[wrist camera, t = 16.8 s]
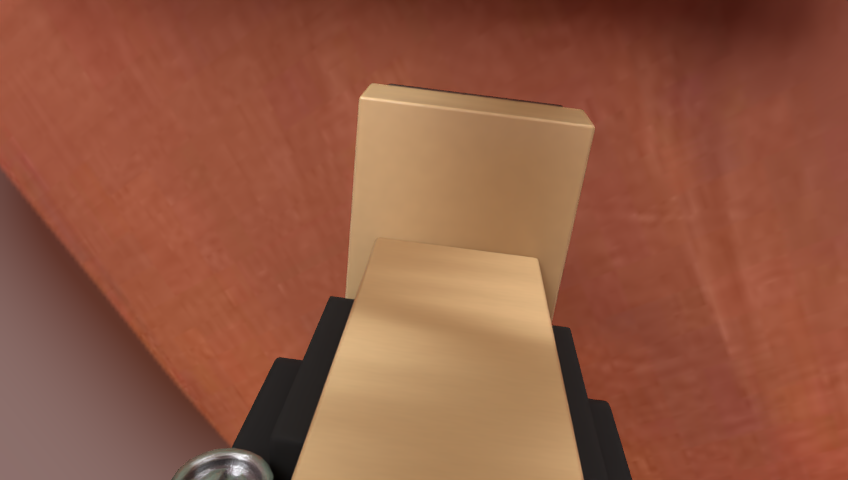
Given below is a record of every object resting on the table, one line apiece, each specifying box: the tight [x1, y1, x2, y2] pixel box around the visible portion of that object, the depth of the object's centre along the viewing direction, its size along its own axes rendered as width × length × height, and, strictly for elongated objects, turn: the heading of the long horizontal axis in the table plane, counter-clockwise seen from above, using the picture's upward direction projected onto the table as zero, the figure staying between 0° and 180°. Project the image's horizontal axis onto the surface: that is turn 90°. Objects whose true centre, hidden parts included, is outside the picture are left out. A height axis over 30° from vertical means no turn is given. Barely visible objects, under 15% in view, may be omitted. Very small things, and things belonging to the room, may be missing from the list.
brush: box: [291, 83, 595, 480], centre depth 11 cm, size 4×10×9 cm, turn 174°
